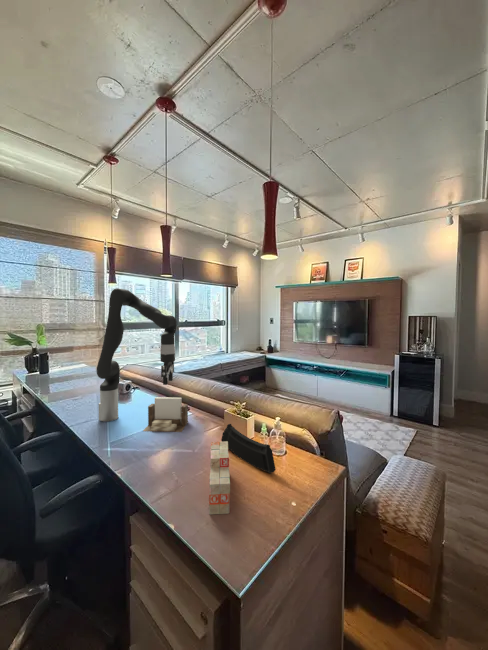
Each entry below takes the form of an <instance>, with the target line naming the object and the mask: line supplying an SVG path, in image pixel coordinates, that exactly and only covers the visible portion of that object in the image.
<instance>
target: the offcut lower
mask: <svg viewBox="0 0 488 650" xmlns="http://www.w3.org/2000/svg"><path fill="white" fill-rule="evenodd" d="M176 428H177V424H171V426H170V427H152V426H151V431H175V429H176ZM151 431H150V432H151Z"/></svg>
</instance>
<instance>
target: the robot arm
mask: <svg viewBox="0 0 488 650" xmlns="http://www.w3.org/2000/svg"><path fill="white" fill-rule="evenodd" d="M108 303H109V304H108V313H107V314H108V315H107V321H106V326H105V332H104V336H103V342H102V346H101V347H102V348H101V353H100V355H99V359H98V363H97V366H96V375H97V377H98V378H99V379H101V380H103V382H102V383H101V384H100V386H99V403H98V421H101V422H105V423H106V422H113V421H115V420H117V419H119V383H120V380H121V379H120V376H121V375H120V374H121V373H120V372H121V368H120V365H119V363H118V362H117V361H116V360H113V358H114V355H115V353H116V351H117V350H118V348H119V346H120V345H121V343H122V341H123V337H124V331H125V328H124V327H125V326H124V324H123V323H124V322H123V320H122V318H121V317H122V316H121V315H122V309H123V308H122V307H123V306H126V307H130V308H133V309H135V310H136V311H137V312H139V314H140V315H141V316H142V317H144V318H147V320H150V321H152V323H153V324H155V325H157V327H159V328H161V329H164V332H163V333H162V334H161V335H160V351H159V352H160V353H159V354H160V362H161V363H163V365H160V377H161V378H162V381H163V382H162V384H163V386H167V385H168V384H169V382H173V380H174V378H173V377H174V376H173V375H174V372H175V361H176V346H175V335H176V332H177V325H178V324H177V323H178V322H177V319H176V317H175V316H173V315H165V314H163V313H162V311H161V310H160V309H158V308H156V307H154V306H152V305H150V304H149V303H147V302H146V301H144V300H142V299H140V298H139V297H138V296H137V295H136V294H134V293H133V292H132V291H130V290H128V289H124V288H119V287H118V288H114V289H113V290H112V291H111V293H110V295H109V302H108Z"/></svg>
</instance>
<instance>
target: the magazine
mask: <svg viewBox="0 0 488 650" xmlns="http://www.w3.org/2000/svg"><path fill="white" fill-rule="evenodd" d="M224 441H228V450H230V451H231V452H232V453H233V454H234V455H235V456H237V457H239V459H240V460H242V461H244V462H245V463H247V464H249V465H250V466H252V467H255V468H257V469H260V470H262V471H263V472H266V473H268V474H273V473H275V472H276V469H277V468H276V464H275V459H274V454H273V450H272V448H271V445H270V444H268V443H261V442H258V441H256V440H254V439H252V438H250V437H248V436H246V435H244V434H243V433H242V432H240V431H239V430H238V429H236V428H235V427H234V426H232V423H229V424H227V425H226V427H225V429H224V431H223V432H222V435H221V440H220V442H224Z"/></svg>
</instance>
